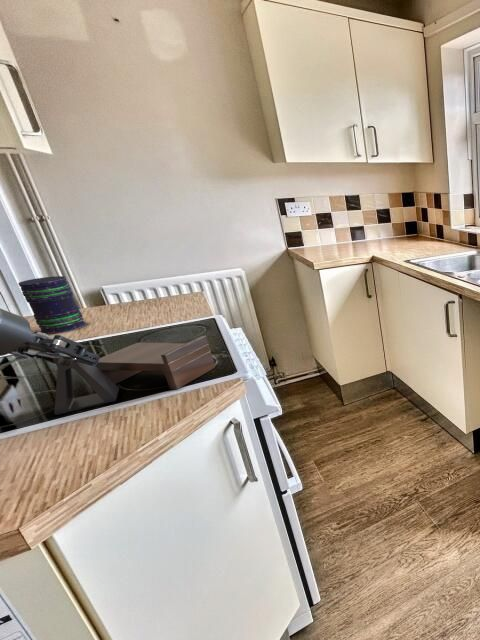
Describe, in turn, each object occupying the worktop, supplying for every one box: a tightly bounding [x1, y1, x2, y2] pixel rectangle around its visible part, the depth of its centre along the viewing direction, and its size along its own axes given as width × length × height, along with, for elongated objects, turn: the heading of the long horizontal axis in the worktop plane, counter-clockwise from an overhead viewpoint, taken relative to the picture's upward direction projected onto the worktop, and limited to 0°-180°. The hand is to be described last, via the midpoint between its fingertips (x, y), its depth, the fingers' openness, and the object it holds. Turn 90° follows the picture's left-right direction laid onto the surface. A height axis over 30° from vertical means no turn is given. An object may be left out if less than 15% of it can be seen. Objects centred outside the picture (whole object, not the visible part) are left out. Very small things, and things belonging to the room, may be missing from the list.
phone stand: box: [53, 357, 120, 416], centre depth 83 cm, size 9×6×12 cm, turn 126°
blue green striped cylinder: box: [17, 275, 86, 335], centre depth 125 cm, size 10×10×15 cm
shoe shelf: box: [96, 335, 216, 390], centre depth 94 cm, size 18×11×8 cm, turn 85°
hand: (80, 360), depth 84 cm, fingers closed on phone stand, 6 cm apart
